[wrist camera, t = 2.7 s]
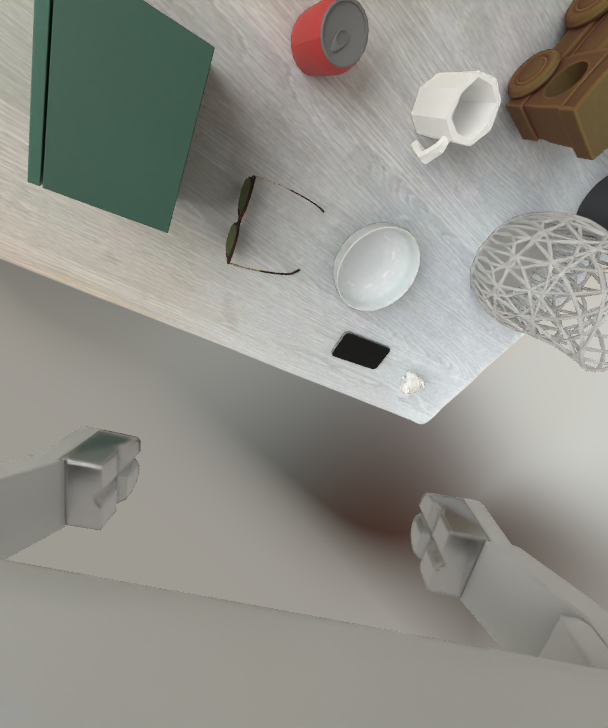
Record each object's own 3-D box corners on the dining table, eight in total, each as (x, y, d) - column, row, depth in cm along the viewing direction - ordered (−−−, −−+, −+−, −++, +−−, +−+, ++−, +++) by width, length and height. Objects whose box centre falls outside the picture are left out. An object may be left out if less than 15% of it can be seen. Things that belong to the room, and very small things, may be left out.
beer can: (279, 41, 44) (304, 29, 35) (315, -7, 42) (350, -32, 33) (311, 88, 48) (340, 89, 39) (345, 47, 46) (383, 37, 37)
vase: (535, 292, 87) (655, 362, 65) (452, 314, 84) (549, 395, 62) (574, 192, 71) (751, 240, 49) (474, 215, 68) (615, 277, 46)
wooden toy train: (513, 149, 62) (595, 165, 49) (486, 101, 55) (572, 106, 43) (615, 34, 54) (741, 19, 42) (598, -38, 48) (740, -80, 36)
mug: (437, 59, 50) (480, 54, 43) (468, 99, 54) (512, 101, 47) (386, 140, 55) (417, 149, 48) (418, 171, 59) (451, 182, 52)
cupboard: (80, 159, 46) (42, 187, 33) (99, -9, 37) (56, -57, 25) (171, 197, 52) (167, 233, 39) (205, 58, 43) (214, 47, 30)
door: (20, 135, 43) (-45, 155, 30) (25, -56, 34) (-64, -136, 22) (78, 159, 46) (39, 186, 33) (96, -11, 37) (53, -59, 25)
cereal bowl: (384, 195, 60) (403, 205, 55) (413, 262, 71) (431, 276, 66) (309, 253, 64) (321, 268, 58) (348, 309, 74) (361, 326, 69)
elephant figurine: (417, 363, 92) (429, 377, 88) (414, 383, 98) (425, 397, 93) (395, 370, 92) (406, 384, 87) (393, 389, 97) (403, 404, 92)
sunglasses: (247, 167, 52) (254, 174, 48) (325, 201, 59) (336, 209, 56) (222, 253, 59) (227, 265, 56) (294, 273, 67) (302, 285, 63)
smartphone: (347, 331, 77) (391, 349, 85) (345, 330, 78) (390, 347, 85) (330, 355, 81) (374, 370, 88) (329, 353, 81) (373, 368, 89)
